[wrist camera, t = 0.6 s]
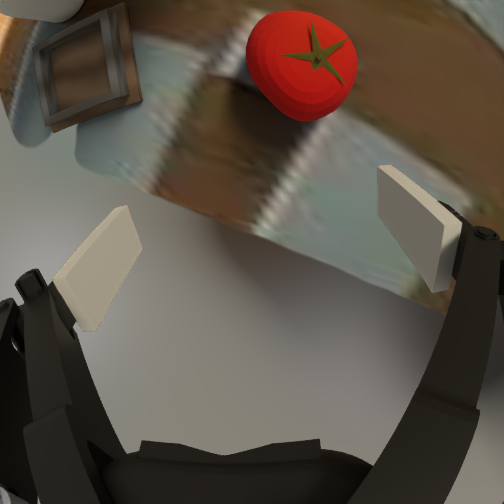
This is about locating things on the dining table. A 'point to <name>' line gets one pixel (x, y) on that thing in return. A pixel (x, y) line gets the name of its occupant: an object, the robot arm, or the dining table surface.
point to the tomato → (301, 63)
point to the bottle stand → (87, 69)
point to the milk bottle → (41, 9)
